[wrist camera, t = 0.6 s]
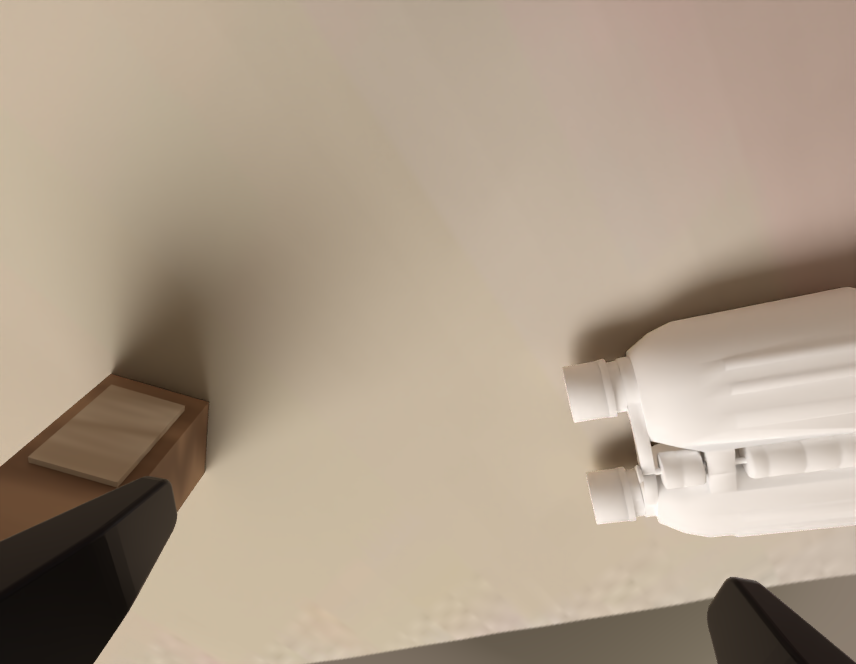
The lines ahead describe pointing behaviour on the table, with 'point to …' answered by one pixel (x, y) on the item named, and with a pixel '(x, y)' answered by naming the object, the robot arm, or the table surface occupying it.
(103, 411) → the walnut block
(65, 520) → the robot arm
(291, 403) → the table surface
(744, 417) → the binoculars
